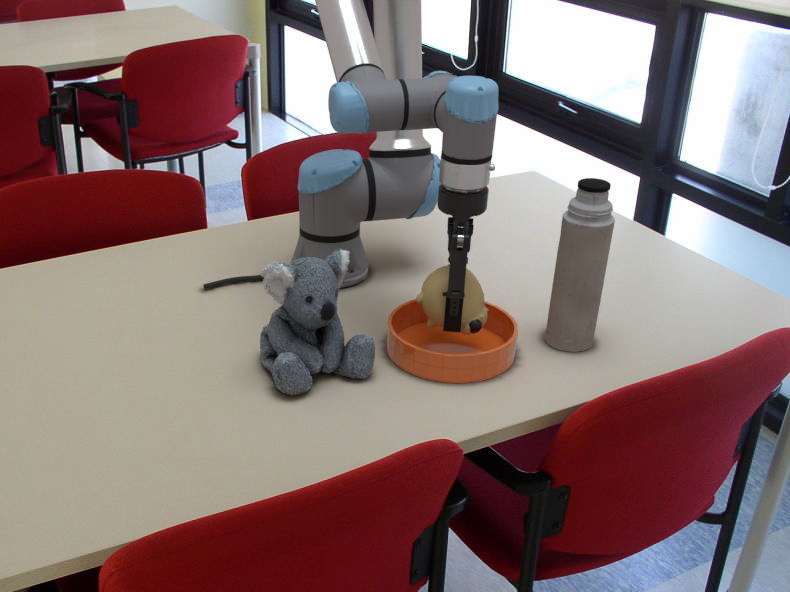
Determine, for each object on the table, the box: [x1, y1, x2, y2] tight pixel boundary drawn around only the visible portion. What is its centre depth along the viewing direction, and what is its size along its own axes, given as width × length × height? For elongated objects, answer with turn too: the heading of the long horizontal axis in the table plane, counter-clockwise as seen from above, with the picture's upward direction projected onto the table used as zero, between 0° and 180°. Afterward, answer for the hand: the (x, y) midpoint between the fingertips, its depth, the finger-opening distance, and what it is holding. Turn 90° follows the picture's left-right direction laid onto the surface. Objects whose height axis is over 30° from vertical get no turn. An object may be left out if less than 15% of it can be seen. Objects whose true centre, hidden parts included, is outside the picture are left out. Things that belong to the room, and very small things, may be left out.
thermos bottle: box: [544, 177, 616, 353], centre depth 147 cm, size 8×8×28 cm
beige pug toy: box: [415, 264, 489, 335], centre depth 147 cm, size 10×12×11 cm
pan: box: [386, 298, 519, 384], centre depth 150 cm, size 21×21×5 cm
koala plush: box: [259, 248, 376, 396], centre depth 142 cm, size 17×18×20 cm
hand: (452, 315), depth 149 cm, fingers closed on beige pug toy, 10 cm apart
